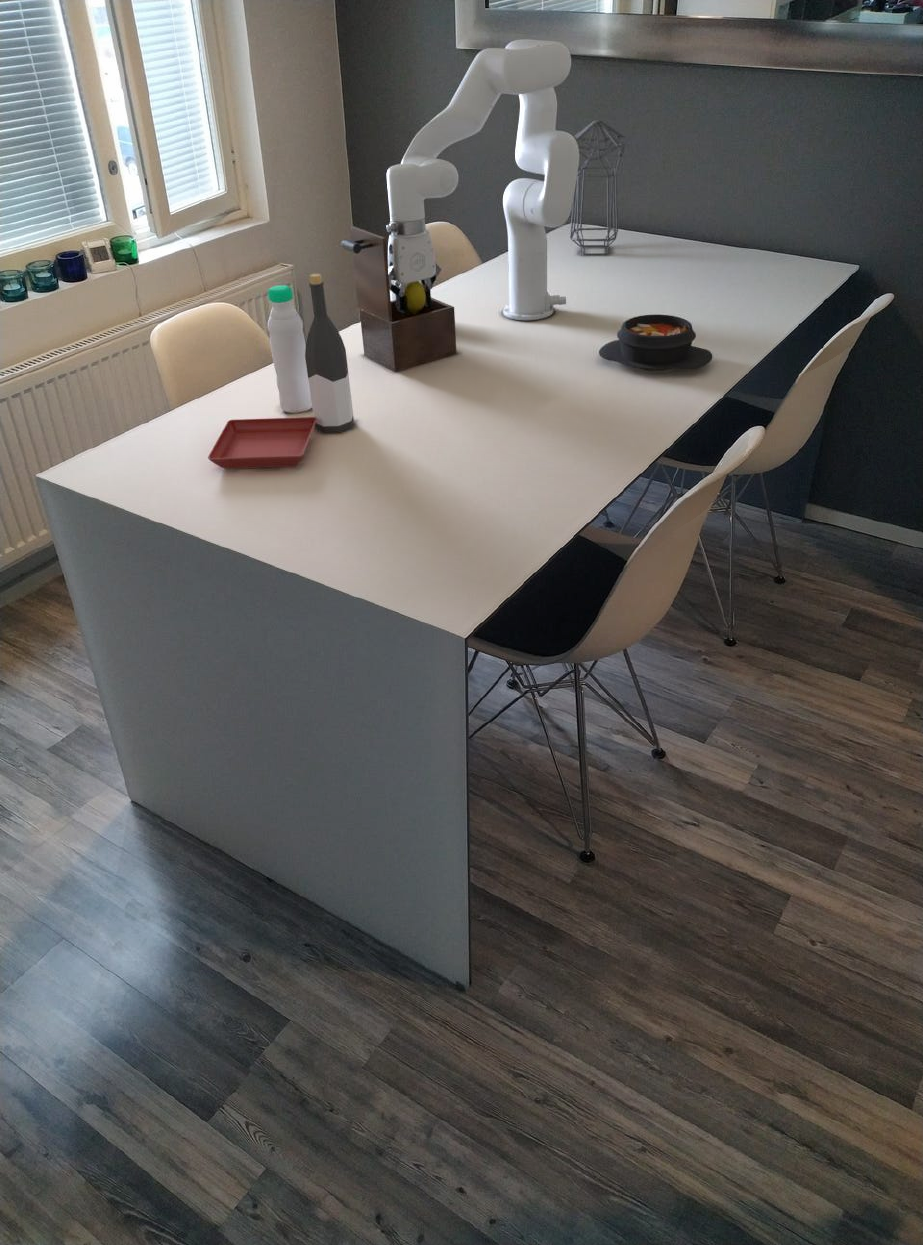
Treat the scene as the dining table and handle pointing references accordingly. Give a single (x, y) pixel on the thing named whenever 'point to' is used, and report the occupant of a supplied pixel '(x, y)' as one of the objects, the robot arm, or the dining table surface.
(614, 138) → the geometric lantern
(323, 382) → the wine bottle
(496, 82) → the robot arm
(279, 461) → the plant saucer
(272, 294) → the water bottle
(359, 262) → the lid
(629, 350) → the casserole
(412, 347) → the chest
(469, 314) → the dining table surface
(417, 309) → the lemon
